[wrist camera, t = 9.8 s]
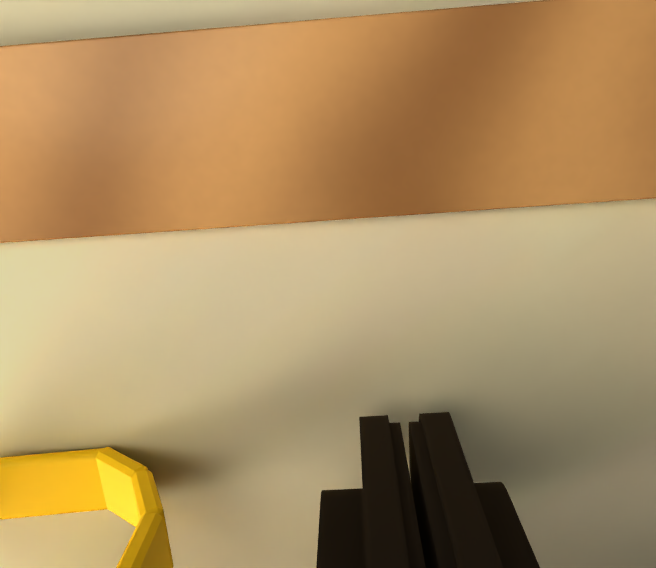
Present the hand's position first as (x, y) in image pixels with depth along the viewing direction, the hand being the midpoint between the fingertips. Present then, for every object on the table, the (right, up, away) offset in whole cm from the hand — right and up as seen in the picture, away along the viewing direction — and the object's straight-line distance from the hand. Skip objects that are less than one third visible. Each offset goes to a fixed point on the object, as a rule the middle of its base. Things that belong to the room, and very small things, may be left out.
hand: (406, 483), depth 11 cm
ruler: (+1, +7, -1) cm, 7 cm away
